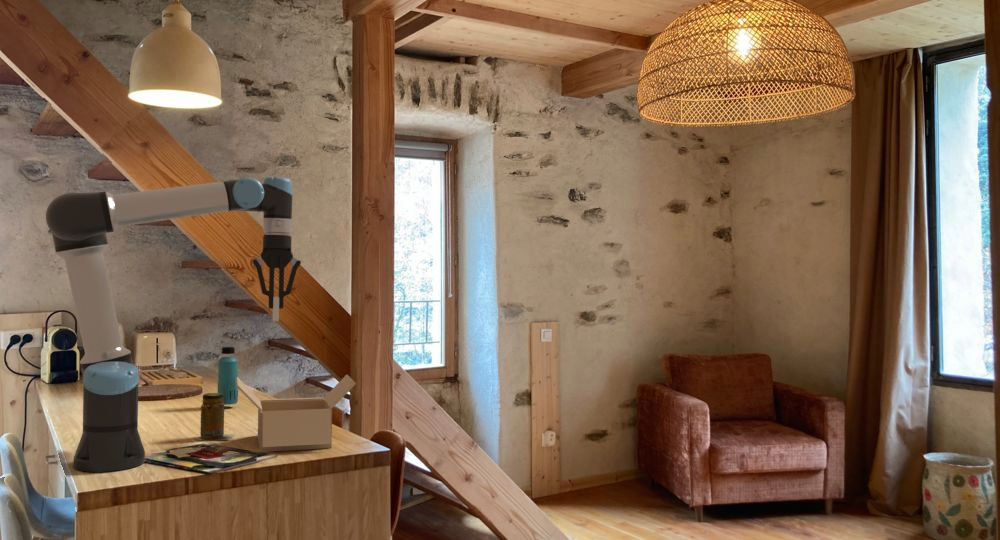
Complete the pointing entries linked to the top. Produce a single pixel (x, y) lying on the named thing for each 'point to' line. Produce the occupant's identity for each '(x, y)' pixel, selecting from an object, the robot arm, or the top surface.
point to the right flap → (339, 391)
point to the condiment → (212, 418)
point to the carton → (290, 406)
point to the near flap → (296, 427)
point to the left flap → (248, 393)
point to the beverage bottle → (228, 376)
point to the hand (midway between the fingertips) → (275, 320)
